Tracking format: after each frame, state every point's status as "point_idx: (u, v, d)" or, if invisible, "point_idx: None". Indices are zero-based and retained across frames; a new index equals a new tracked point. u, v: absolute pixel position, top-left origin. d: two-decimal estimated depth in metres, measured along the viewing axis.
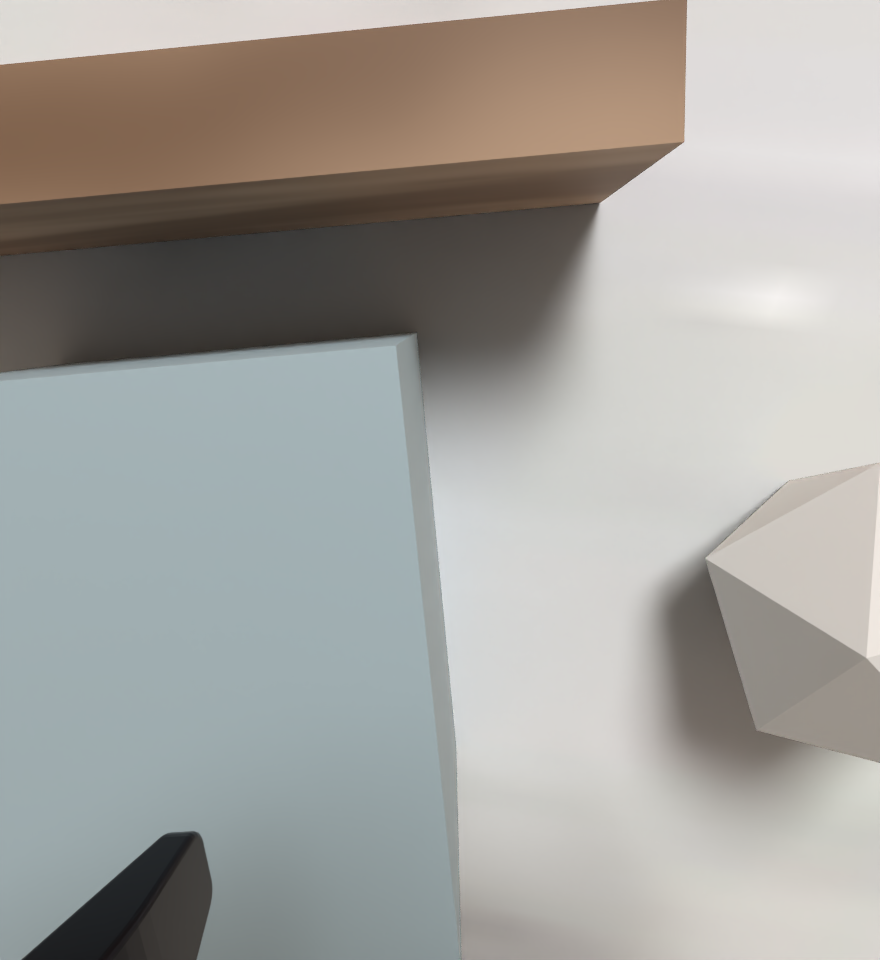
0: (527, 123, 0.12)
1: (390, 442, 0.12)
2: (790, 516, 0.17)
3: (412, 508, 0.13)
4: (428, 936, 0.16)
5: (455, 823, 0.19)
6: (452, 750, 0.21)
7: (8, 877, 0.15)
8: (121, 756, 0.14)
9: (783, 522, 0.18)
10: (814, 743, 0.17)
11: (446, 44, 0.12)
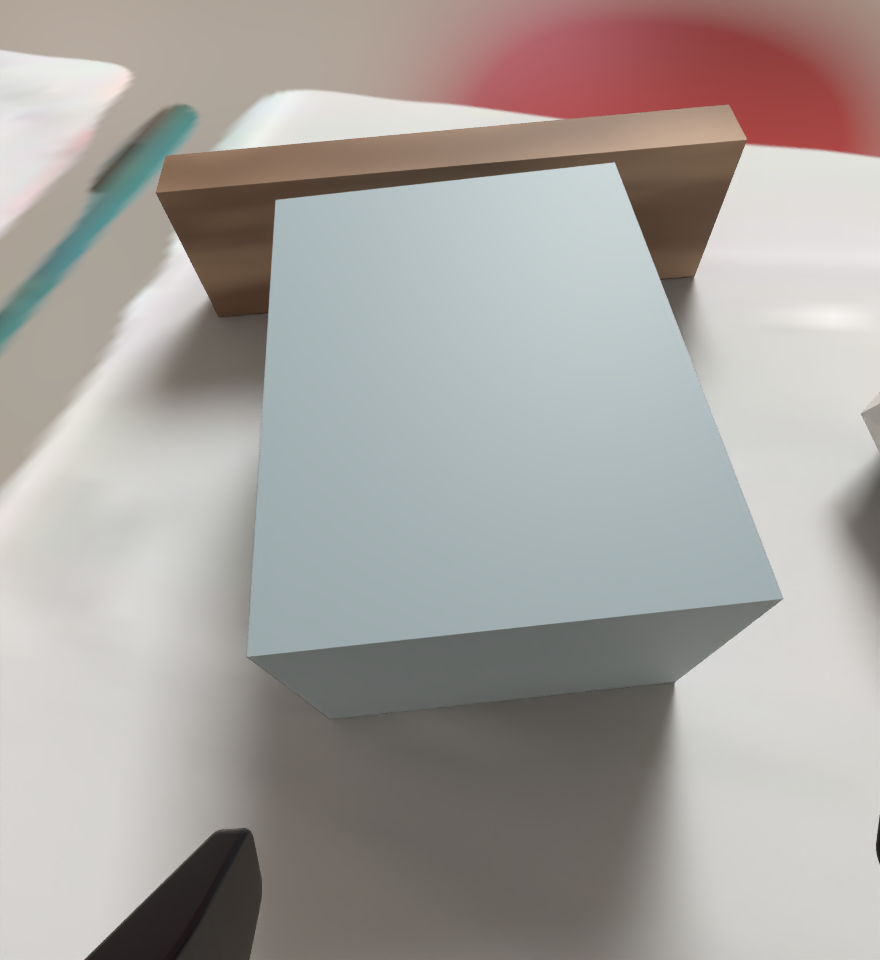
0: (664, 137, 0.25)
1: (618, 197, 0.21)
2: None
3: (637, 225, 0.20)
4: (730, 546, 0.14)
5: None
6: None
7: (298, 493, 0.16)
8: (428, 378, 0.17)
9: None
10: None
11: (619, 120, 0.26)
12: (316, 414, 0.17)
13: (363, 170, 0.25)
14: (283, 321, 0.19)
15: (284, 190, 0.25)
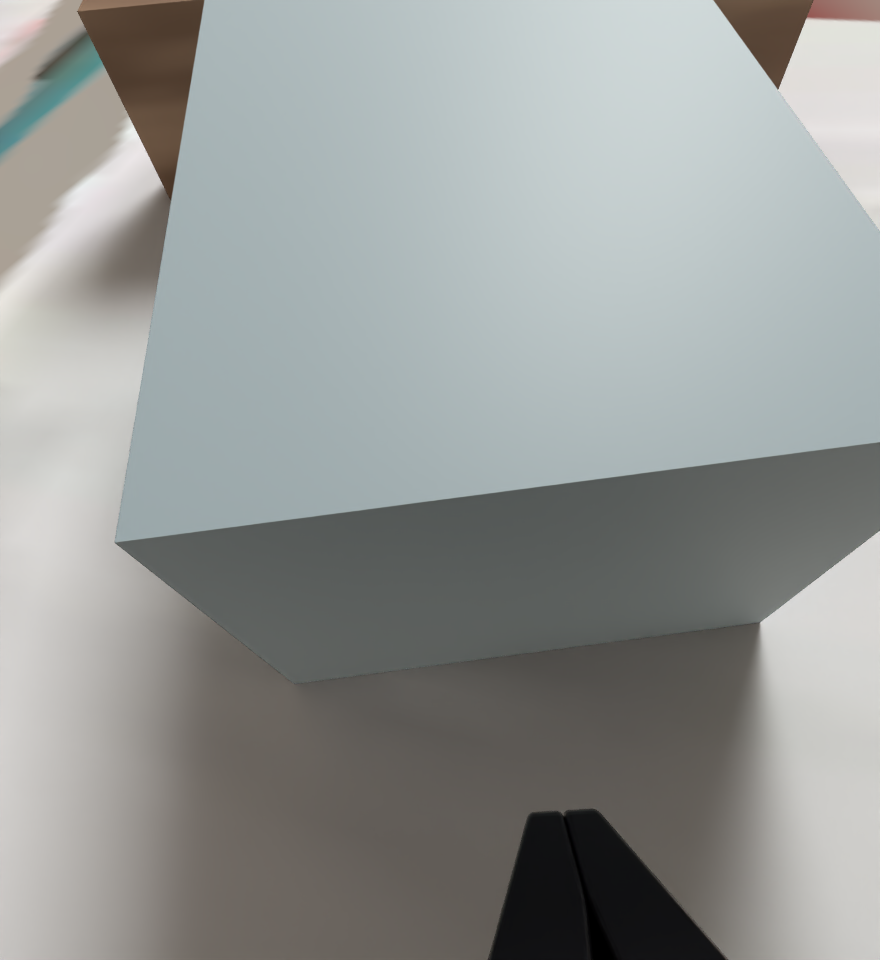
0: None
1: None
2: None
3: None
4: None
5: None
6: None
7: (216, 310, 0.10)
8: (415, 163, 0.12)
9: None
10: None
11: None
12: (249, 212, 0.11)
13: None
14: (208, 109, 0.13)
15: None
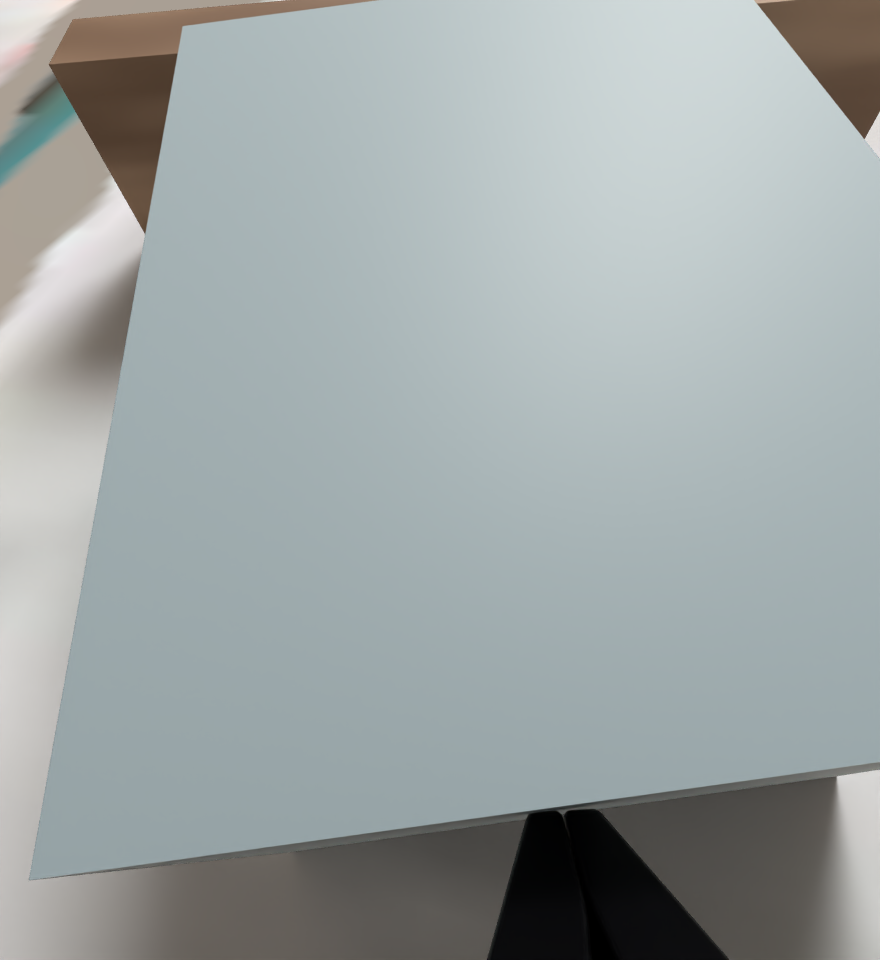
0: None
1: None
2: None
3: (774, 31, 0.12)
4: None
5: None
6: None
7: (183, 486, 0.08)
8: (438, 268, 0.09)
9: None
10: None
11: None
12: (228, 337, 0.09)
13: None
14: (180, 189, 0.11)
15: None
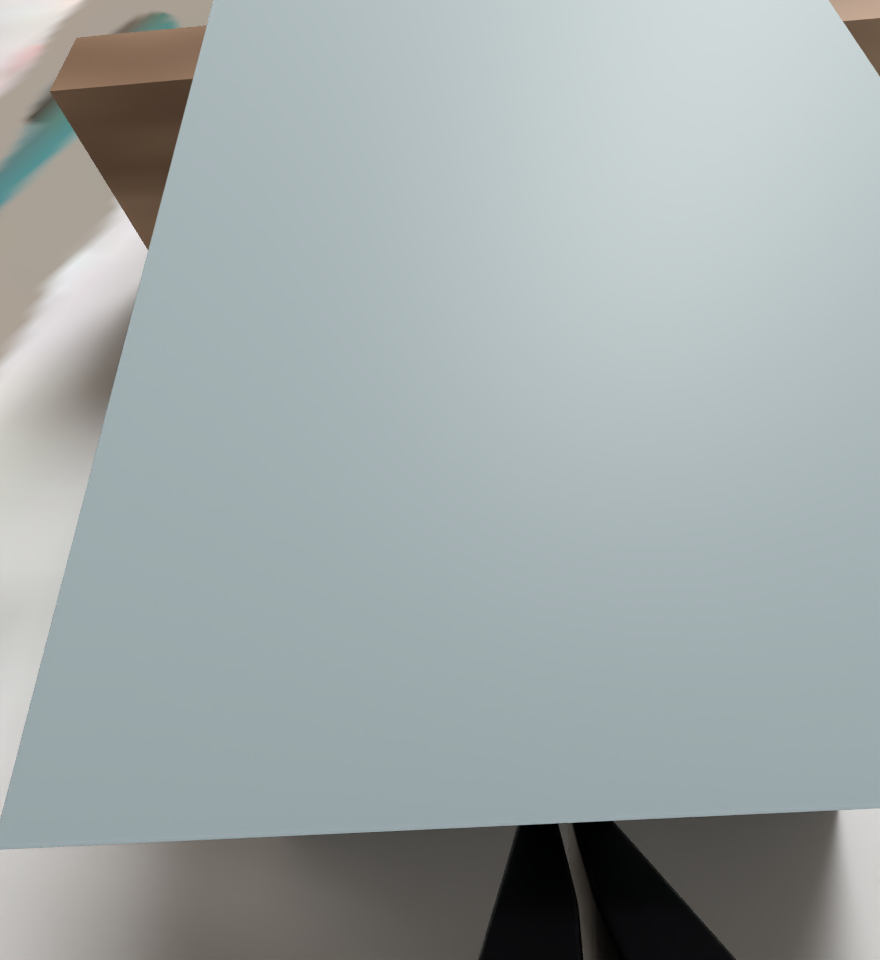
0: None
1: None
2: None
3: (832, 13, 0.11)
4: None
5: None
6: None
7: (174, 467, 0.08)
8: (449, 255, 0.09)
9: None
10: None
11: None
12: (231, 317, 0.09)
13: None
14: (198, 162, 0.11)
15: None
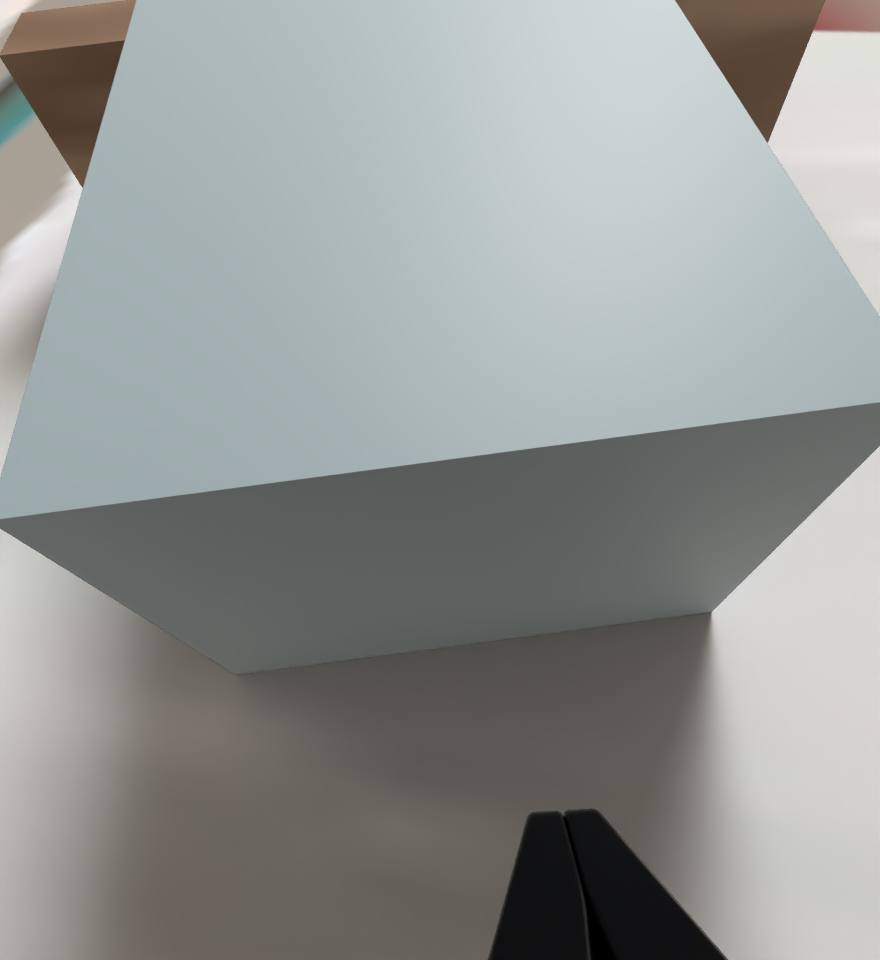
0: None
1: None
2: None
3: None
4: (826, 325, 0.08)
5: None
6: None
7: (119, 285, 0.10)
8: (337, 137, 0.11)
9: None
10: None
11: None
12: (163, 187, 0.11)
13: None
14: (134, 85, 0.13)
15: None
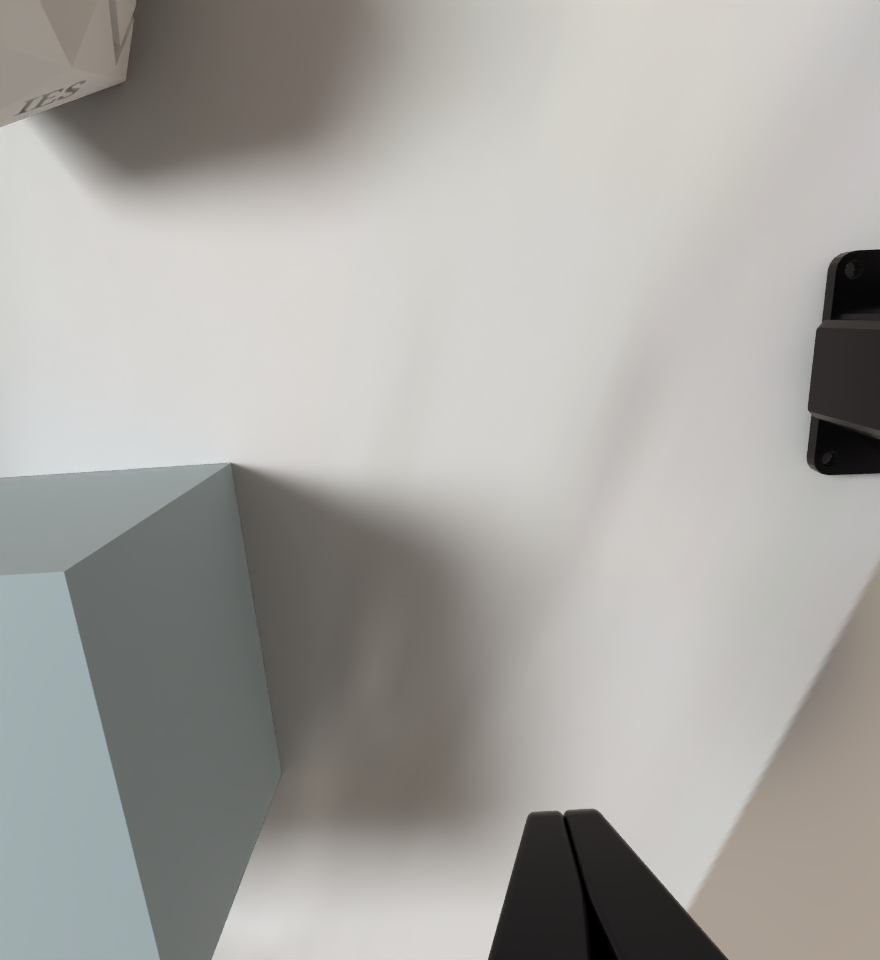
0: None
1: None
2: None
3: None
4: (4, 611, 0.12)
5: (104, 515, 0.15)
6: (121, 491, 0.17)
7: None
8: None
9: None
10: None
11: None
12: None
13: None
14: None
15: None
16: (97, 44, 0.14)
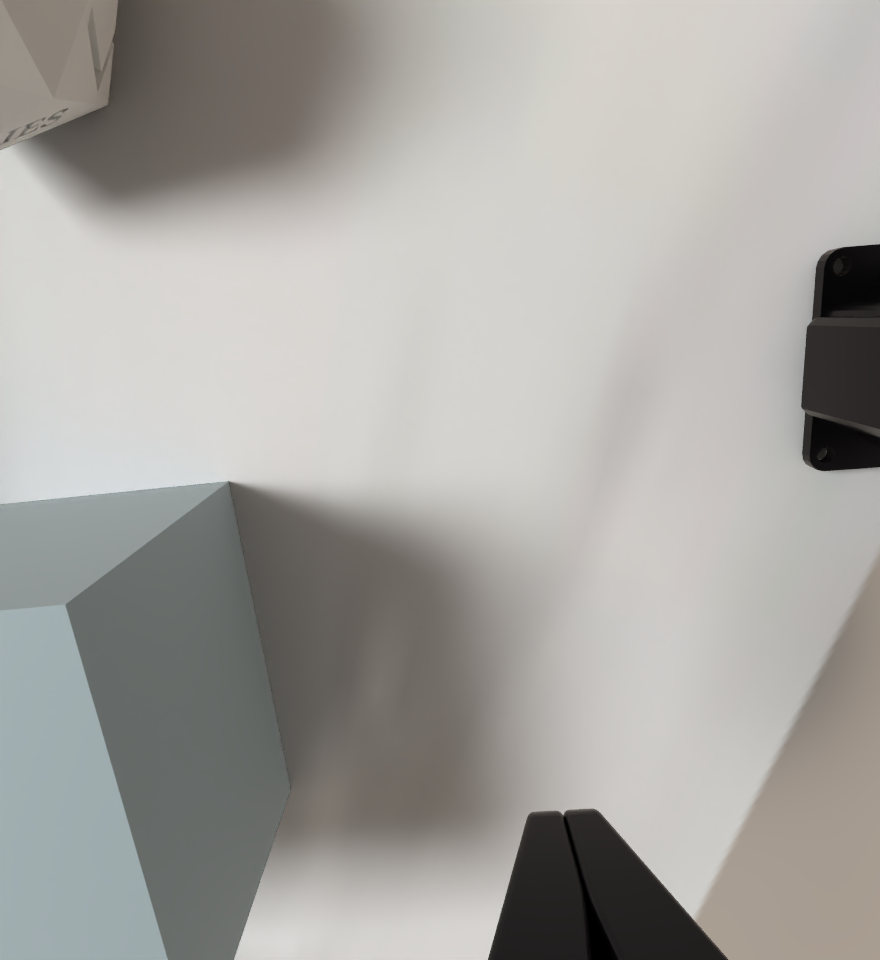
0: None
1: None
2: None
3: None
4: (7, 645, 0.12)
5: (104, 542, 0.15)
6: (119, 515, 0.17)
7: None
8: None
9: None
10: (0, 12, 0.12)
11: None
12: None
13: None
14: None
15: None
16: (78, 72, 0.14)
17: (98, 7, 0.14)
